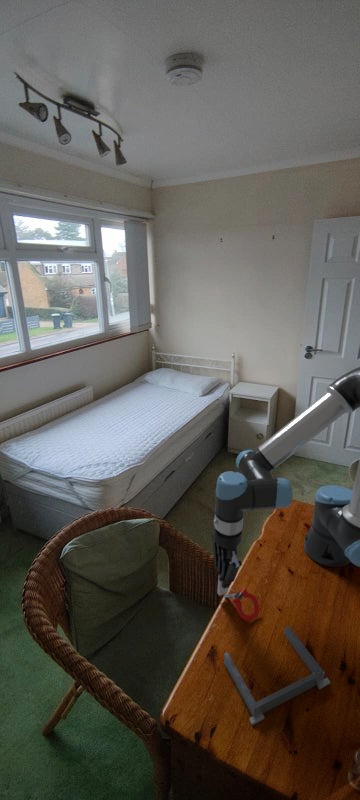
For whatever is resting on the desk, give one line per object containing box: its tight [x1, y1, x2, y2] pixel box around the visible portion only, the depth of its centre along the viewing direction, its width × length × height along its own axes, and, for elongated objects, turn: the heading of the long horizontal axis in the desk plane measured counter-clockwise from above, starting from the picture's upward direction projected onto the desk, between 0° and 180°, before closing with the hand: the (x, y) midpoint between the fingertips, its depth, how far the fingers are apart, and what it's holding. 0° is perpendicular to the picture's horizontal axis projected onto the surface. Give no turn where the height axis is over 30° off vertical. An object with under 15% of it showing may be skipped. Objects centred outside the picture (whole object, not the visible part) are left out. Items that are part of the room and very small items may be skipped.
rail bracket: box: [223, 625, 331, 726], centre depth 89 cm, size 21×14×3 cm, turn 113°
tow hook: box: [223, 587, 260, 622], centre depth 107 cm, size 7×10×7 cm
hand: (222, 592), depth 109 cm, fingers closed
